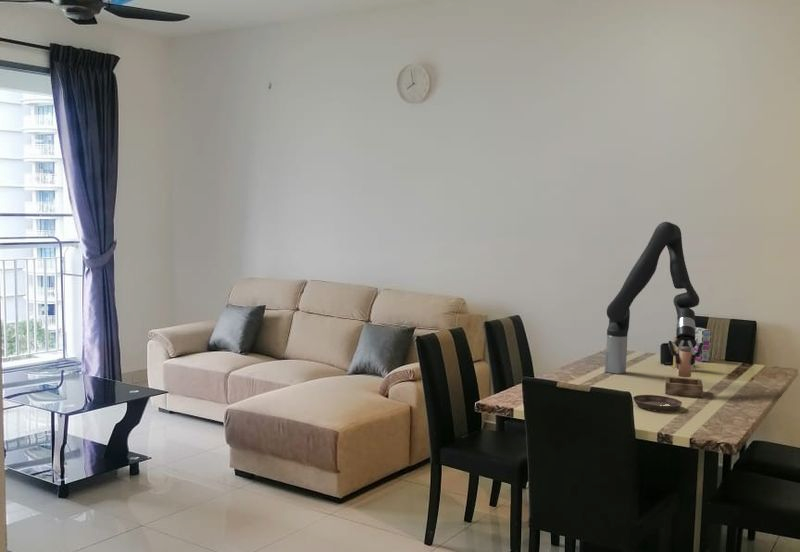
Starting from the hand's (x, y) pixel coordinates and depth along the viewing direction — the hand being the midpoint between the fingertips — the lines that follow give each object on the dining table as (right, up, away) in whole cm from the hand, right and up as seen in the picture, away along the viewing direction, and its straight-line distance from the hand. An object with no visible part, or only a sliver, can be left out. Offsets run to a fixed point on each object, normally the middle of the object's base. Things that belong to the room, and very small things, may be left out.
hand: (685, 363), depth 310 cm
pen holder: (+17, -8, +67) cm, 69 cm away
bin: (0, -13, +3) cm, 13 cm away
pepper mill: (+1, -6, +2) cm, 6 cm away
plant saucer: (-20, -14, -23) cm, 34 cm away
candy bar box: (+38, -8, +81) cm, 90 cm away
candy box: (+19, -9, +54) cm, 58 cm away
